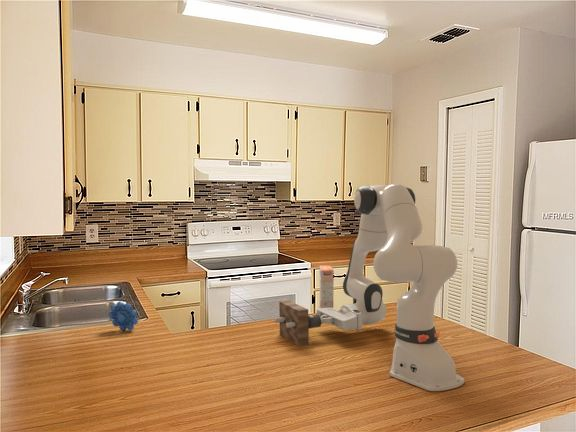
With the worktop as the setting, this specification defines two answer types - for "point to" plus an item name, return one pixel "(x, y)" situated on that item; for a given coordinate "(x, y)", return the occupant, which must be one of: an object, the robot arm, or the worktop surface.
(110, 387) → the worktop surface
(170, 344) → the worktop surface
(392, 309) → the worktop surface
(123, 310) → the blue gear
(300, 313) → the block
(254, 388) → the worktop surface
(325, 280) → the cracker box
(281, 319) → the teal knob
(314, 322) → the black knob
